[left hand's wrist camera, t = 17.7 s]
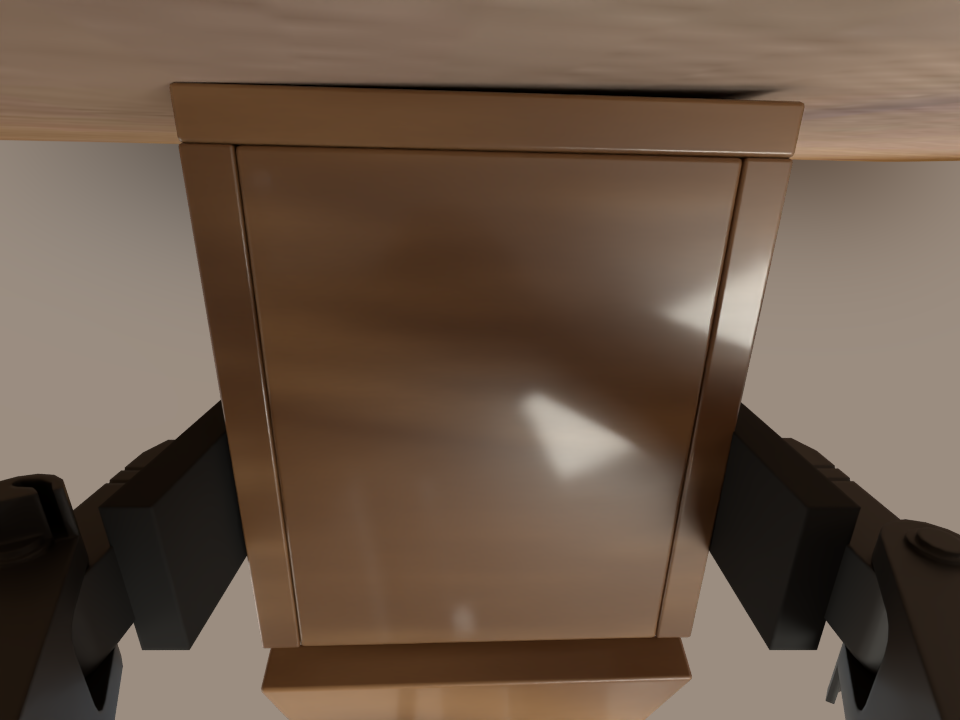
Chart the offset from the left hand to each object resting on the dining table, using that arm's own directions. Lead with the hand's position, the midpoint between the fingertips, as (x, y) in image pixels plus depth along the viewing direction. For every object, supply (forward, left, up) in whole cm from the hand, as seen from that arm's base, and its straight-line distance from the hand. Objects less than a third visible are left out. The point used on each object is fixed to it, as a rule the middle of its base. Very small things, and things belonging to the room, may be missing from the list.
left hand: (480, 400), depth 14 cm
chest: (+1, -2, -7) cm, 7 cm away
